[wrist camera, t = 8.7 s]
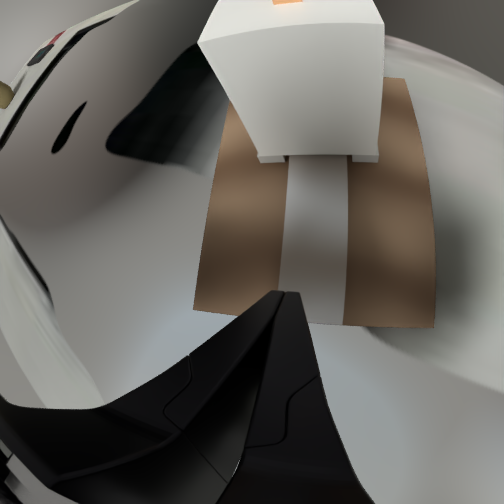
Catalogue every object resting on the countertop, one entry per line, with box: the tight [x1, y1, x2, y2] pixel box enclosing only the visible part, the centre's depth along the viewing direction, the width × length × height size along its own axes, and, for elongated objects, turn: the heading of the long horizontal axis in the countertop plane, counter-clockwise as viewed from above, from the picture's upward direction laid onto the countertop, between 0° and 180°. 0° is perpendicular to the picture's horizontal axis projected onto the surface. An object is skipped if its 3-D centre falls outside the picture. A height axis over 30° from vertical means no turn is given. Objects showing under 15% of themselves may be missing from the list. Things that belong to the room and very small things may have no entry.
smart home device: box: [27, 44, 54, 66], centre depth 61 cm, size 8×2×20 cm
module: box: [198, 0, 384, 163], centre depth 12 cm, size 5×7×11 cm
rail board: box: [193, 77, 436, 328], centre depth 16 cm, size 18×14×4 cm
